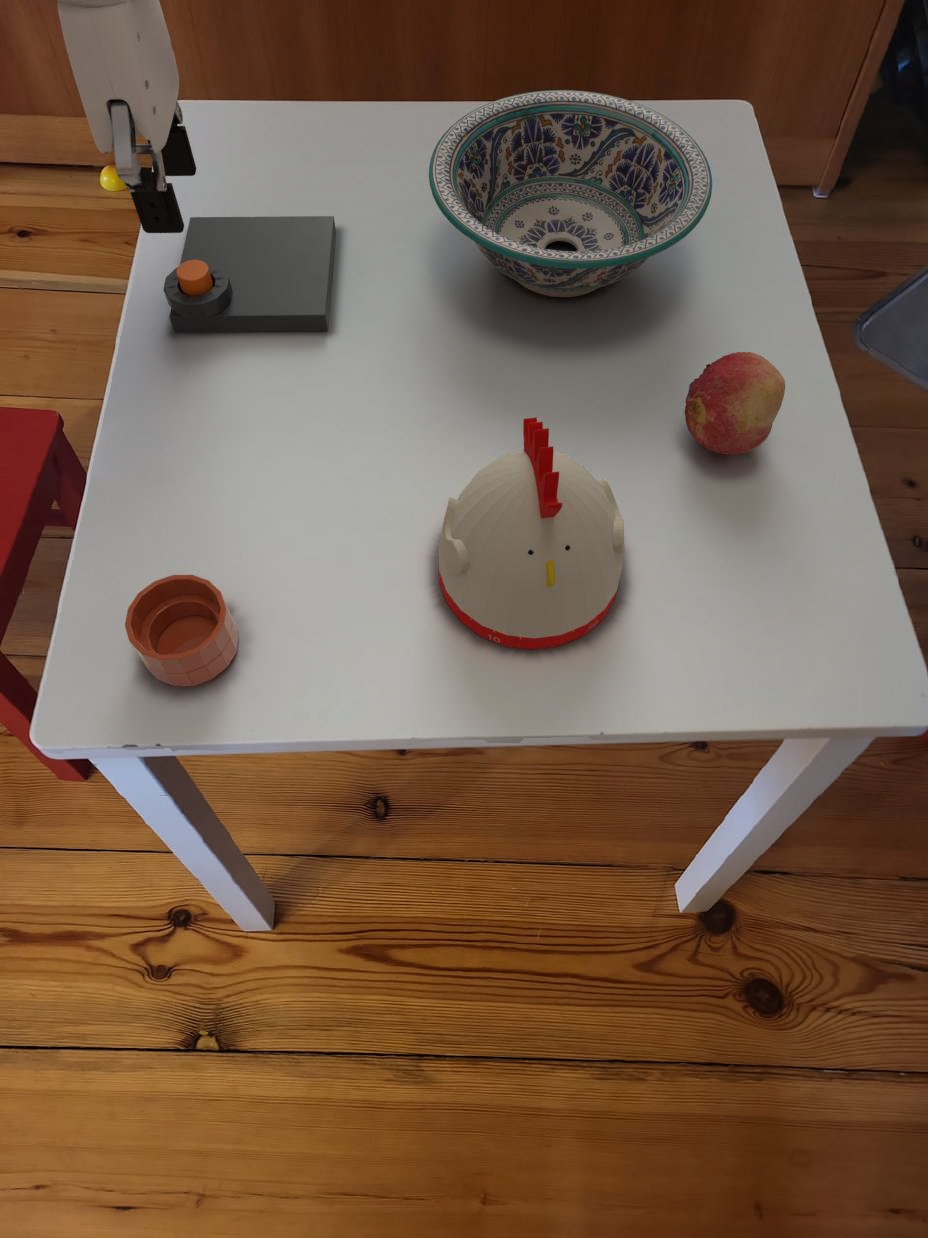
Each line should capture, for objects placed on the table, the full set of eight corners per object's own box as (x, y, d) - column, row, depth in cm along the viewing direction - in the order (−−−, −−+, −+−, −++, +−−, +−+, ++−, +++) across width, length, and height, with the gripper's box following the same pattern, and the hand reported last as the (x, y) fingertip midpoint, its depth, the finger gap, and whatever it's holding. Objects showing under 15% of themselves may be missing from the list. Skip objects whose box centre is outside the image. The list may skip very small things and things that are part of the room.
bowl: (692, 193, 94) (714, 101, 85) (685, 366, 81) (711, 277, 73) (453, 170, 96) (452, 77, 87) (410, 335, 83) (405, 245, 75)
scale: (170, 335, 83) (159, 304, 80) (191, 233, 90) (182, 201, 87) (327, 334, 83) (322, 303, 80) (336, 232, 90) (331, 200, 87)
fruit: (730, 490, 74) (758, 422, 67) (656, 440, 77) (675, 370, 70) (785, 438, 77) (817, 368, 70) (711, 391, 80) (735, 319, 73)
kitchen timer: (452, 660, 66) (450, 540, 53) (427, 510, 73) (420, 371, 60) (638, 635, 67) (680, 512, 54) (596, 490, 74) (625, 349, 61)
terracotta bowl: (138, 690, 65) (117, 660, 61) (153, 608, 68) (134, 575, 64) (234, 688, 65) (219, 658, 61) (243, 607, 68) (230, 573, 64)
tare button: (179, 296, 81) (174, 280, 79) (183, 275, 82) (178, 259, 81) (210, 296, 81) (206, 280, 80) (214, 275, 82) (210, 259, 81)
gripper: (65, -108, 63) (142, 138, 79) (6, 24, 55) (106, 272, 70) (173, -108, 63) (229, 138, 79) (131, 24, 55) (204, 272, 70)
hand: (171, 199), depth 74 cm, fingers open, 6 cm apart
